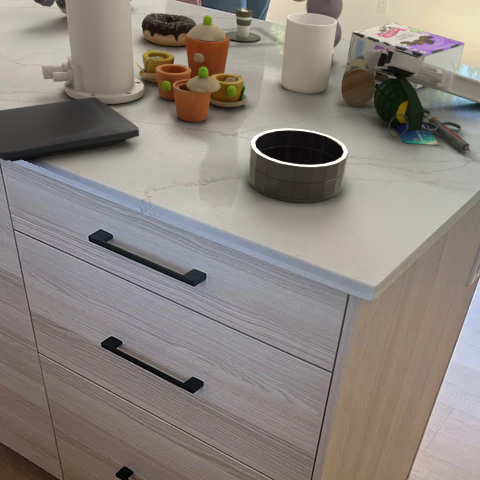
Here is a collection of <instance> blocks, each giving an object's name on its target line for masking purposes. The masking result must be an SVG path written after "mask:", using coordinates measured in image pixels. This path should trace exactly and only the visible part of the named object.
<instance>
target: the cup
mask: <svg viewBox="0 0 480 480" xmlns="http://www.w3.org/2000/svg"><path fill="white" fill-rule="evenodd" d="M337 21H338V20H337ZM337 21H336V20H335V19H334V18H331V17H328V16H325V15H320V14H312V13H307V12H297V13H291V14H288V15H287V16H286V22H285V23H286V26H285V33H284V41H283V54H282V65H281V74H280V82H281V85H282V87H283V88H284V89H286V90H288V91H291V92H294V93H299V94H300V93H301V94H318V93H322V92H324V91H325V90H326V89H327V87H328V84H329V81H330V73H331V67H332V63H331V60H332V54H333V55H334V48H335V47H334V40H335V33H336V26H337ZM333 47H334V48H333Z"/></svg>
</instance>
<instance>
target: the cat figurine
mask: <svg viewBox="0 0 480 480" xmlns="http://www.w3.org/2000/svg"><path fill="white" fill-rule="evenodd" d="M343 4H344V3H343V0H306V7H305V9H306V13H312V14H320V15H325V16H328V17H331V18H334V19H335V20H336V21H337V26H336V33H335V40H334V47H333V49H334V48H335V47H337V46H338V45H339V43H340V42H341V40H342V35H343V33H342V27H341V24H340V22H339V21H338V19H339V17H340V16H341V15H342V12H343ZM333 60H334V53H333V54H332V60H331V64H332V63H333Z"/></svg>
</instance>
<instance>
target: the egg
mask: <svg viewBox="0 0 480 480" xmlns="http://www.w3.org/2000/svg"><path fill="white" fill-rule="evenodd" d="M292 1H293V2H296V3H302V2H305V1H306V0H292Z"/></svg>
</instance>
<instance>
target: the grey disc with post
mask: <svg viewBox="0 0 480 480" xmlns="http://www.w3.org/2000/svg"><path fill="white" fill-rule="evenodd" d="M235 17H236V19H235V20H236V30H234V31H227V32H224V33H225V34H226V35H227V36H228V37H229V39H230V41H235V42H243V43H244V42H245V43H250V42H256V41H259V40H261V38H262V37H261V36H260V35H259V34H257V33H254V32H250V29H251V25H252V20H253V19H252V17H253V10H252V9H250V8H248V7H247V8H246V7H244V8H242V7H239V8H237V9H236V12H235Z"/></svg>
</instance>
